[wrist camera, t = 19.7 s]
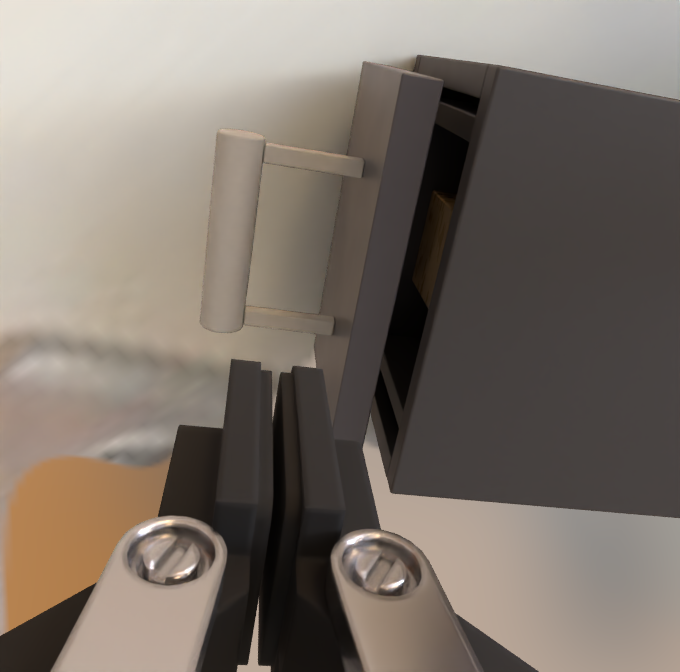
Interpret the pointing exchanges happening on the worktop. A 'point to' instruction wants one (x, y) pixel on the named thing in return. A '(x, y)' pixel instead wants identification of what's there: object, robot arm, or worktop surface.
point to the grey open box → (550, 304)
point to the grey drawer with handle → (348, 236)
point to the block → (433, 243)
